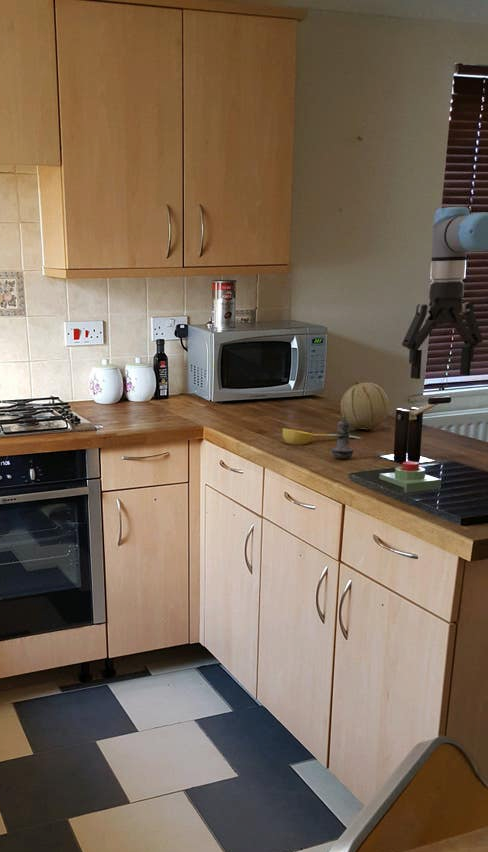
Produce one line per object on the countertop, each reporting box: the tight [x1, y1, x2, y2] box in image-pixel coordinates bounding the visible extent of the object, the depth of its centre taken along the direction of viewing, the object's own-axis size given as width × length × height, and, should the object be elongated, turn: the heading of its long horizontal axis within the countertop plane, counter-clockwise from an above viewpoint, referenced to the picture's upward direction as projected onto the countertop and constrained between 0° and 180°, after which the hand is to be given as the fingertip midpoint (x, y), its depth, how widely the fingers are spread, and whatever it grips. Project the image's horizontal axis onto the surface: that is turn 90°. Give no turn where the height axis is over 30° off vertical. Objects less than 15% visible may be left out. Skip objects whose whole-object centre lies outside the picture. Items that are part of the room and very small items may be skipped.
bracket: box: [378, 407, 437, 465], centre depth 222 cm, size 12×9×14 cm
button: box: [401, 461, 420, 471], centre depth 199 cm, size 4×4×2 cm
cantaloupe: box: [340, 380, 390, 429], centre depth 272 cm, size 15×15×15 cm
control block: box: [378, 466, 442, 494], centre depth 199 cm, size 11×9×4 cm
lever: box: [407, 395, 452, 422], centre depth 214 cm, size 15×6×2 cm, turn 19°
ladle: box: [282, 427, 361, 446], centre depth 252 cm, size 9×26×6 cm, turn 107°
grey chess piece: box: [330, 416, 355, 461], centre depth 225 cm, size 6×6×12 cm
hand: (440, 376), depth 205 cm, fingers open, 13 cm apart
